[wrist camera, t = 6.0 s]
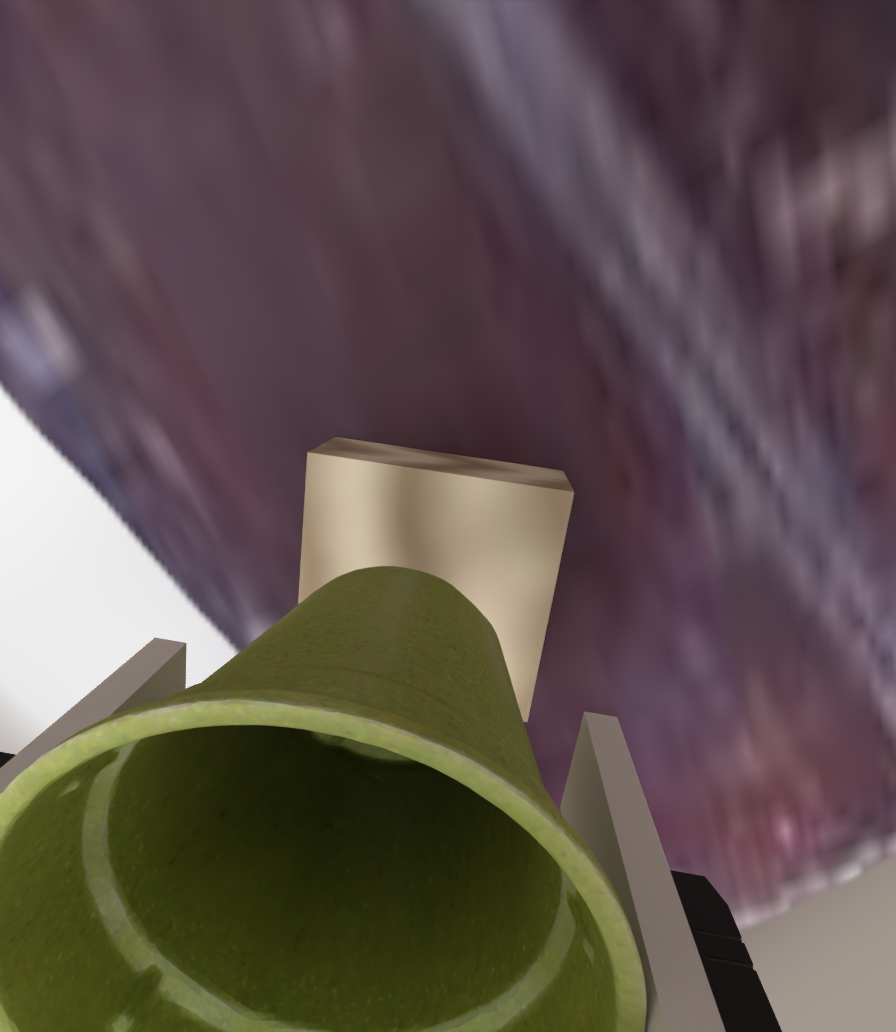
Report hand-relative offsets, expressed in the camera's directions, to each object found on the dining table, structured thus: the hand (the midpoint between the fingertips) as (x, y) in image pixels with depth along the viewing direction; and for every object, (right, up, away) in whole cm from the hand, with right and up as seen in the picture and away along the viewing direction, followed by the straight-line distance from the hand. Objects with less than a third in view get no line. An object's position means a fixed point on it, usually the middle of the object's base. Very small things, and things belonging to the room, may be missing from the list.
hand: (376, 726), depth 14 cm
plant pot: (0, +1, +3) cm, 3 cm away
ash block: (+1, +2, +21) cm, 21 cm away
